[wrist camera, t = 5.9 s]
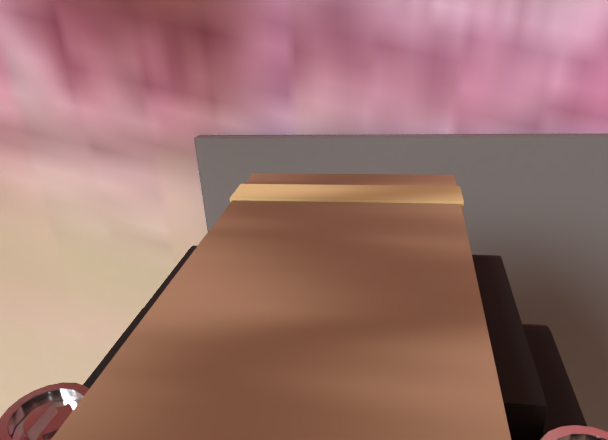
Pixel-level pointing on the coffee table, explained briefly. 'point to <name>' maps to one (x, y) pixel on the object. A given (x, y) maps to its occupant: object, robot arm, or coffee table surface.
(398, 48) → the coffee table surface
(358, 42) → the coffee table surface
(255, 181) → the block
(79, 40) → the coffee table surface
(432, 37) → the coffee table surface
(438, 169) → the mat
